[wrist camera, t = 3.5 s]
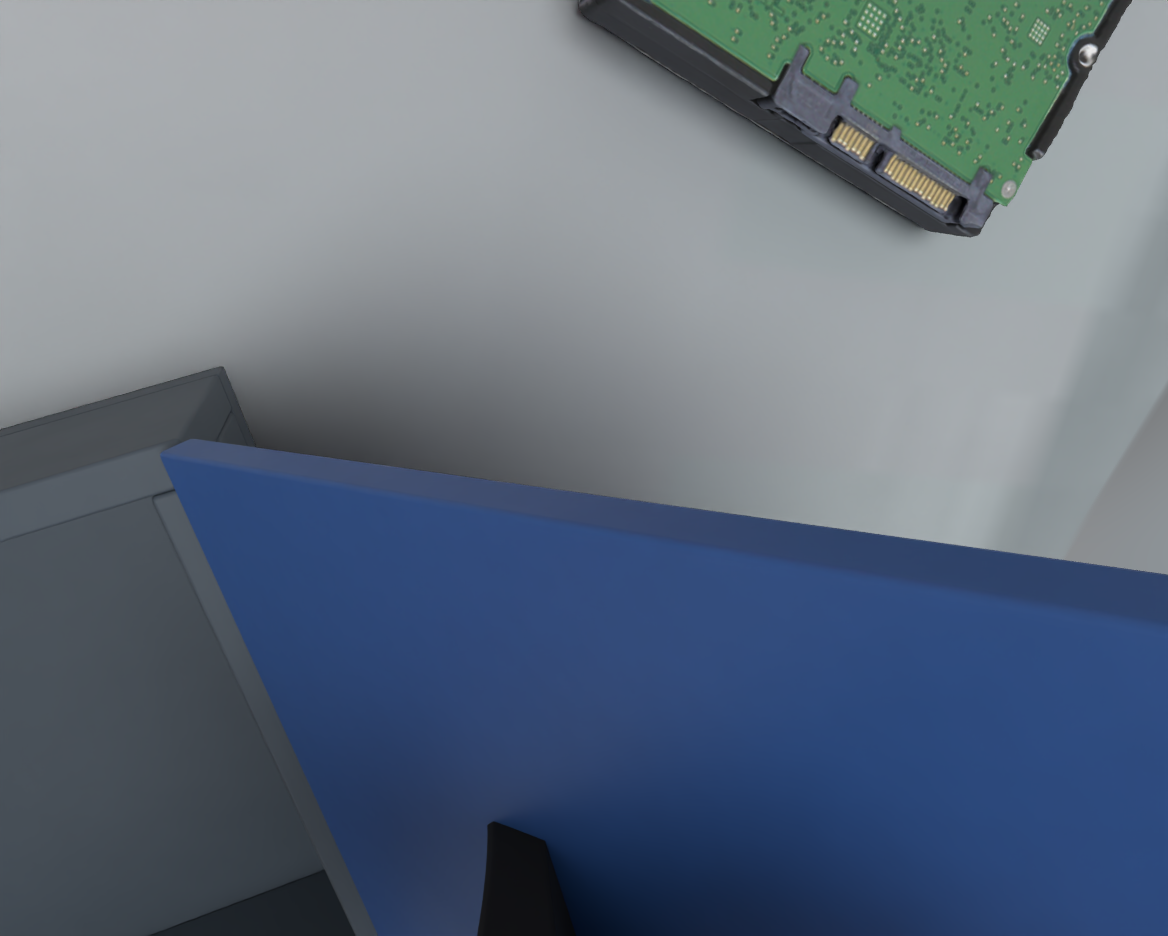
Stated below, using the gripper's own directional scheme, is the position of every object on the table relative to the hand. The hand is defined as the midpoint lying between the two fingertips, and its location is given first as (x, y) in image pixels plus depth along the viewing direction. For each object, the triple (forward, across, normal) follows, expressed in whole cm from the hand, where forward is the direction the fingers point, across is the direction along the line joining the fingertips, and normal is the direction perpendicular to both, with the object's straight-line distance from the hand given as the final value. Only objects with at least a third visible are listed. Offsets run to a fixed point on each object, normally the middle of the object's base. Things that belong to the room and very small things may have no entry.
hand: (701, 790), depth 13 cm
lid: (-1, +2, +1) cm, 3 cm away
